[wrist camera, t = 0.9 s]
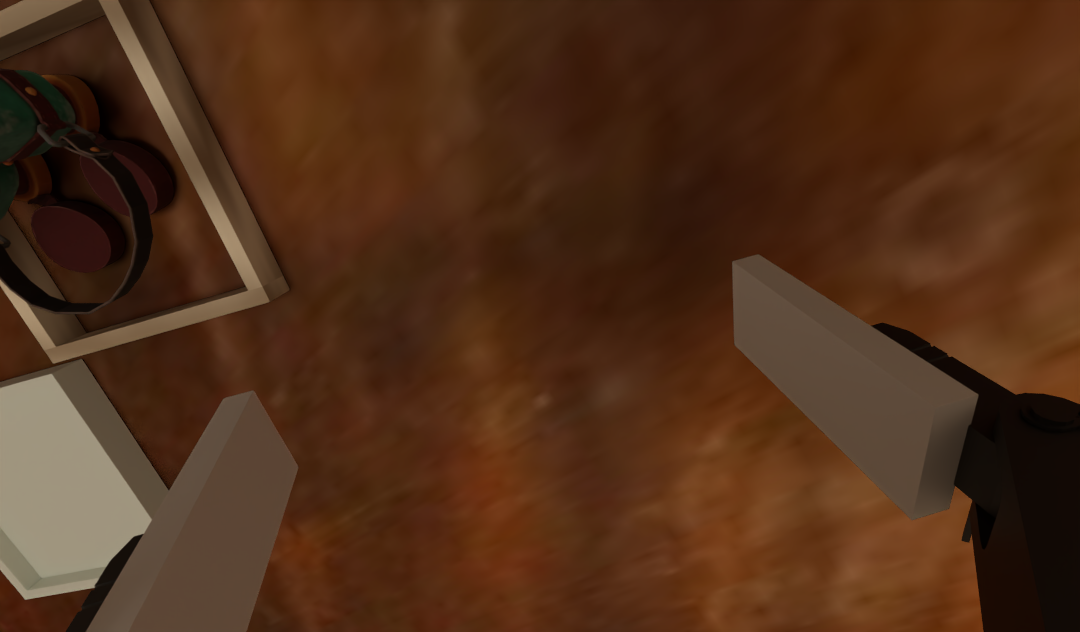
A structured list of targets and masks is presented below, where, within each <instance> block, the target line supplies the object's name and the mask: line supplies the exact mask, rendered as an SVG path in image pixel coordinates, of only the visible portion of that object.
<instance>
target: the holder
mask: <svg viewBox="0 0 1080 632" xmlns="http://www.w3.org/2000/svg"><path fill="white" fill-rule="evenodd" d="M103 15H107V17H108V19H109V21H110V23H111V25H112V27H113V29H114V31H115V33H116V35H117V37H118V39H119V41H120V43H121V45H122V47H123V48H124V50H125V52H126V54H127V56H128V58H129V60H130V62H131V64H132V66H133V68H134V70H135V72H136V74H137V76H138V78H139V80H140V81H141V83H142V85H143V87H144V89H145V91H146V93H147V95H148V97H149V99H150V101H151V103H152V105H153V107H154V109H155V111H156V113H157V115H158V116H159V118H160V120H161V122H162V124H163V126H164V128H165V130H166V132H167V134H168V136H169V138H170V140H171V142H172V144H173V146H174V148H175V149H176V151H177V153H178V155H179V157H180V159H181V161H182V163H183V165H184V167H185V169H186V171H187V173H188V175H189V177H190V179H191V181H192V182H193V184H194V186H195V188H196V190H197V192H198V194H199V196H200V198H201V200H202V202H203V204H204V206H205V208H206V210H207V212H208V214H209V215H210V217H211V219H212V221H213V223H214V225H215V227H216V229H217V231H218V233H219V235H220V237H221V239H222V241H223V243H224V245H225V247H226V248H227V250H228V252H229V254H230V256H231V258H232V260H233V262H234V264H235V266H236V268H237V270H238V272H239V274H240V276H241V278H242V280H243V282H244V283H245V285H246V287H243V288H239V289H236V290H232V291H229V292H226V293H222V294H219V295H215V296H212V297H209V298H205V299H202V300H198V301H195V302H192V303H188V304H185V305H181V306H178V307H175V308H171V309H168V310H164V311H161V312H158V313H154V314H151V315H147V316H144V317H141V318H137V319H134V320H130V321H127V322H124V323H120V324H117V325H113V326H110V327H107V328H103V329H100V330H96V331H93V332H90V333H86V331H85V330H84V328H83V327H82V325H81V324H80V322H79V321H78V319H77V317H76V316H75V314H54V313H51V312H48V311H45V310H42V309H39V308H36V307H32V306H31V305H29V304H28V303H27V302H25V301H24V300H23V299H21V298H20V297H19V296H17V295H16V294H15V293H13V292H12V291H11V290H9V288H8V287H7V286H6V285H5V284H4V283H3V282H2V281H1V280H0V286H1V287H2V289H3V290H4V292H5V293H6V295H7V296H8V298H9V299H10V301H11V302H12V304H13V305H14V306H15V308H16V309H17V311H18V312H19V314H20V315H21V317H22V318H23V320H24V321H25V323H26V324H27V326H28V327H29V329H30V330H31V331H32V333H33V334H34V336H35V337H36V339H37V340H38V342H39V343H40V345H41V346H42V348H43V349H44V351H45V352H46V353H47V355H48V356H49V358H50V359H51V361H52V362H53V363H57V362H60V361H64V360H67V359H71V358H74V357H78V356H81V355H85V354H88V353H92V352H95V351H99V350H102V349H106V348H109V347H113V346H117V345H120V344H124V343H127V342H131V341H134V340H138V339H141V338H145V337H148V336H152V335H155V334H159V333H162V332H166V331H169V330H173V329H176V328H180V327H183V326H187V325H190V324H194V323H197V322H201V321H204V320H208V319H211V318H215V317H218V316H222V315H226V314H229V313H233V312H236V311H240V310H243V309H247V308H250V307H254V306H257V305H261V304H264V303H268V302H271V301H272V300H274V299H276V298H277V297H279V296H281V295H282V294H284V293H286V292H287V291H289V290H290V289H289V287H288V285H287V283H286V281H285V279H284V276H283V274H282V272H281V270H280V268H279V266H278V264H277V262H276V260H275V258H274V256H273V254H272V252H271V250H270V248H269V246H268V244H267V242H266V239H265V237H264V235H263V233H262V231H261V229H260V227H259V225H258V223H257V221H256V219H255V217H254V215H253V213H252V211H251V209H250V207H249V205H248V202H247V200H246V198H245V196H244V194H243V192H242V190H241V188H240V186H239V184H238V182H237V180H236V178H235V176H234V174H233V172H232V170H231V168H230V165H229V163H228V161H227V159H226V157H225V155H224V153H223V151H222V149H221V147H220V145H219V143H218V141H217V139H216V137H215V135H214V133H213V130H212V128H211V126H210V124H209V122H208V120H207V118H206V116H205V114H204V112H203V110H202V108H201V106H200V104H199V102H198V100H197V98H196V96H195V93H194V91H193V89H192V87H191V85H190V83H189V81H188V79H187V77H186V75H185V73H184V71H183V69H182V67H181V65H180V63H179V61H178V59H177V56H176V54H175V52H174V50H173V48H172V46H171V44H170V42H169V40H168V38H167V36H166V34H165V32H164V30H163V28H162V26H161V24H160V22H159V19H158V17H157V15H156V13H155V11H154V9H153V7H152V5H151V3H150V1H149V0H23V1H21V2H19V3H17V4H15V5H13V6H10V7H8V8H6V9H4V10H2V11H0V61H1V60H4V59H6V58H8V57H10V56H13V55H15V54H17V53H19V52H22V51H24V50H26V49H28V48H31V47H33V46H35V45H38V44H40V43H42V42H44V41H47V40H49V39H51V38H53V37H56V36H58V35H60V34H62V33H65V32H67V31H69V30H72V29H74V28H76V27H78V26H81V25H83V24H85V23H87V22H90V21H92V20H94V19H96V18H99V17H101V16H103ZM0 234H1V235H2V236H4V237H5V238H7V239H8V240H10V242H11V244H10V246H9V247H8V248H5V249H6V251H7V253H8V254H9V256H10V258H11V259H12V261H13V262H14V263H15V264H16V265H17V266H18V268H19V269H20V270H21V271H22V272H23V273H24V274H25V275H26V276H27V277H28V279H29V280H30V281H32V282H33V283H34V284H35V285H37V286H38V287H39V288H41V289H42V290H43V291H44V292H46V293H47V294H48V295H50V296H52V297H55V298H58V299H61V300H64V301H66V300H65V299H64V297H63V296H62V294H61V293H60V291H59V289H58V288H57V286H56V285H55V283H54V282H53V280H52V279H51V277H50V275H49V274H48V272H47V271H46V269H45V268H44V266H43V265H42V263H41V261H40V260H39V258H38V257H37V255H36V254H35V252H34V251H33V249H32V247H31V246H30V244H29V243H28V241H27V240H26V238H25V237H24V235H23V233H22V232H21V230H20V229H19V227H18V226H17V224H16V223H15V221H14V219H13V218H12V216H11V215H10V213H9V212H8V211H7V213H6V215H5V216H4V217H3V218H2V219H1V220H0ZM0 244H3V242H2V241H0Z"/></svg>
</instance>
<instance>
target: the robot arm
mask: <svg viewBox="0 0 1080 632" xmlns="http://www.w3.org/2000/svg"><path fill="white" fill-rule="evenodd" d="M732 273H733V313H734V345H735V346H736V347H737V348H738V349H739V350H740V351H741V352H742V353H743V354H744V355H745V356H746V357H747V358H748V359H749V360H750V361H751V362H752V363H753V364H754V365H755V366H756V367H757V368H758V369H759V370H760V371H761V372H762V373H763V374H764V375H766V376H767V377H768V378H769V379H770V380H771V381H772V382H773V383H774V384H775V385H776V386H777V387H778V388H779V389H780V390H781V391H782V392H783V393H784V394H785V395H786V396H787V397H788V398H789V399H790V400H791V401H792V402H793V403H794V404H795V405H796V406H797V407H798V408H799V409H800V410H801V411H802V412H803V413H804V414H805V415H806V416H807V417H808V418H809V419H810V420H811V421H812V422H813V423H814V424H815V425H816V426H817V427H818V428H819V429H820V430H821V431H822V432H823V433H824V434H825V435H826V436H827V437H828V438H829V439H830V440H831V441H832V442H833V443H834V444H835V445H836V446H837V447H838V448H839V449H840V450H841V451H842V452H843V453H844V454H845V455H846V456H847V457H848V458H849V459H850V460H851V461H852V462H853V463H854V464H856V465H857V466H858V467H859V468H860V469H861V470H862V471H863V472H864V473H865V474H866V475H867V476H868V477H869V478H870V479H871V480H872V481H873V482H874V483H875V484H876V485H877V486H878V487H879V488H880V489H881V490H882V491H883V492H884V493H885V494H886V495H887V496H888V497H889V498H890V499H891V500H892V501H893V502H894V503H895V504H896V505H897V506H898V507H899V508H900V509H901V510H902V511H903V512H904V513H905V514H906V515H907V516H908V517H909V518H910V519H911V520H914V519H917V518H921V517H924V516H927V515H930V514H934V513H937V512H940V511H943V510H946V509H949V507H950V503H951V499H952V495H953V491H954V488H955V486H956V487H958V488H959V489H960V490H961V491H962V492H963V493H965V494H966V495H967V496H968V497H969V498H971V499H972V504H971V507H970V511H969V514H968V518H967V521H966V525H965V528H964V532H963V536H962V541H965V542H969V541H970V538H971V534H972V540H973V548H974V556H975V564H976V572H977V581H978V589H979V597H980V605H981V614H982V622H983V630H984V632H1080V404H1077V403H1075V402H1072V401H1070V400H1067V399H1064V398H1061V397H1056V396H1051V395H1046V394H1034V393H1023V394H1018V395H1015V394H1014V393H1012V392H1010V391H1009V390H1007V389H1005V388H1004V387H1002V386H1000V385H999V384H997V383H995V382H994V381H992V380H990V379H988V378H987V377H985V376H983V375H982V374H980V373H978V372H977V371H975V370H973V369H972V368H970V367H968V366H967V365H965V364H963V363H962V362H960V361H958V360H957V359H955V358H953V357H948V355H947V353H945V352H943V351H942V350H940V349H938V348H937V347H935V346H933V347H931V345H930V343H928V342H927V341H925V340H923V339H922V338H920V337H918V336H917V335H915V334H913V333H912V332H910V331H907V330H904V329H901V328H898V327H895V326H892V325H889V324H885V323H880V324H876V325H873V326H870V325H869V324H867V323H865V322H864V321H862V320H861V319H859V318H858V317H856V316H854V315H853V314H851V313H850V312H848V311H847V310H845V309H843V308H842V307H840V306H839V305H837V304H836V303H834V302H833V301H831V300H829V299H828V298H826V297H825V296H823V295H822V294H820V293H818V292H817V291H815V290H814V289H812V288H811V287H809V286H807V285H806V284H804V283H803V282H801V281H800V280H798V279H796V278H795V277H793V276H792V275H790V274H789V273H787V272H786V271H784V270H782V269H781V268H779V267H778V266H776V265H775V264H773V263H771V262H770V261H768V260H767V259H765V258H764V257H762V256H760V255H759V254H757V255H754V256H750V257H746V258H742V259H739V260H735V261H732ZM297 470H298V465H297V464H296V462H295V460H294V459H293V457H292V455H291V453H290V452H289V450H288V448H287V447H286V445H285V443H284V442H283V440H282V438H281V436H280V435H279V433H278V431H277V430H276V428H275V426H274V424H273V423H272V421H271V419H270V418H269V416H268V414H267V413H266V411H265V409H264V407H263V406H262V404H261V402H260V401H259V399H258V397H257V396H256V394H255V392H254V390H253V391H249V392H246V393H242V394H238V395H235V396H231V397H227V398H224V399H223V400H222V402H221V404H220V406H219V407H218V409H217V411H216V412H215V414H214V416H213V417H212V419H211V421H210V422H209V424H208V426H207V428H206V429H205V431H204V433H203V434H202V436H201V438H200V439H199V441H198V443H197V444H196V446H195V448H194V450H193V451H192V453H191V455H190V456H189V458H188V460H187V461H186V463H185V465H184V466H183V468H182V470H181V472H180V473H179V475H178V477H177V478H176V480H175V482H174V483H173V485H172V487H171V488H170V490H169V492H168V494H167V495H166V497H165V499H164V500H163V502H162V504H161V505H160V507H159V509H158V510H157V512H156V514H155V516H154V517H153V519H152V521H151V522H150V524H149V526H148V527H147V529H146V531H145V532H144V534H141V535H137V536H134V537H133V538H132V539H131V540H130V541H129V542H128V543H127V544H126V545H125V546H124V547H123V548H122V549H121V550H120V551H119V552H118V553H117V554H116V555H115V556H114V557H113V558H112V559H111V560H110V562H109V563H108V565H107V566H106V568H105V570H104V571H103V573H102V574H101V576H100V578H99V579H98V581H97V582H96V584H95V590H93V591H91V592H90V594H89V595H88V597H87V598H86V600H85V602H84V603H83V605H82V606H81V607H82V611H80V612H78V613H77V614H76V616H75V618H74V619H73V621H72V622H71V624H70V626H69V627H68V629H67V630H66V632H246V631H247V627H248V624H249V621H250V618H251V615H252V612H253V609H254V605H255V602H256V599H257V596H258V593H259V590H260V587H261V583H262V580H263V577H264V574H265V571H266V568H267V564H268V561H269V558H270V555H271V552H272V549H273V546H274V542H275V539H276V536H277V533H278V530H279V527H280V524H281V520H282V517H283V514H284V511H285V508H286V505H287V501H288V498H289V495H290V492H291V489H292V486H293V483H294V479H295V476H296V473H297Z"/></svg>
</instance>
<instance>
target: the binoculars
mask: <svg viewBox="0 0 1080 632" xmlns="http://www.w3.org/2000/svg"><path fill="white" fill-rule="evenodd" d="M99 127H100V117H99V110H98V105H97V103H96V100H95V98H94V95H93V94H92V92H91V90H90V89H89V87H88V86H87V85H86V84H85V83H84V82H83V81H81V80H80V79H78V78H77V77H75V76H71V75H41V76H40V75H38V74H37V73H34V72H31V71H26V70H15V71H14V70H9V69H0V220H1V219H2V218H3V217H4V216H5V215H6V213H7V211H8V209H9V207H10V205H11V203H12V201H13V200H18V201H23V202H27V201H28V204H32V203H35V204H40V205H42V206H44V207H41V208H39V209H37V210H36V211H34V213H33V215H32V217H31V226H32V231H33V234H34V236H35V238H36V241H37V242H38V244H39V246H40V247H41V249H42V250H43V251H44V252H45V253H46V255H47V256H48V257H49V258H51V259H52V260H53V261H54V262H56V263H57V264H59V265H60V266H62V267H64V268H67V269H69V270H72V271H76V272H85V273H87V272H94V271H97V270H99V269H101V268H103V267H105V266H107V265H109V264H111V263H113V262H114V261H116V260H117V259H119V258H120V256H121V255H122V254H123V251H124V248H125V239H124V234H123V232H122V230H121V228H120V227H119V225H118V224H117V222H116V221H115V220H114V219H113V218H112V217H111V216H110V215H108V214H107V213H105V212H104V211H102V210H101V209H99V208H97V207H95V206H92V205H89V204H86V203H82V202H77V201H61V202H60V201H59V200H57V199H56V198H55V197H54V196H52V195H50V193H51V190H52V180H51V175H50V172H49V169H48V167H47V164H46V162H45V161H44V159H43V157H42V156H41V154H43V153H45V152H46V151H48V150H49V149H50V148H51V147H53V146H54V147H64V148H66V149H68V150H69V151H71V152H74V153H76V154H79V155H80V166H81V169H82V172H83V174H84V176H85V178H86V180H87V182H88V183H89V185H90V186H91V188H92V189H93V191H94V192H95V193H96V194H97V195H98V197H99V198H100V199H101V200H102V201H103V202H105V203H106V204H107V205H108V206H109V207H111V208H112V209H114V210H115V211H117V212H119V213H121V214H123V215H126V216H129V217H130V218H131V224H132V229H133V235H134V240H135V244H134V249H133V255H132V260H131V265H130V268H129V270H128V272H127V274H126V277H125V279H124V281H123V283H122V285H121V286H120V287H119V289H118V290H117V291H116V293H115V294H114V295H113V297H112V298H111V299H110V300H109V301H107V302H105V303H70V302H67V301H64V300H61V299H58V298H55V297H52V296H50V295H48V294H47V293H46V292H44V291H43V290H42V289H41V288H39V287H38V286H37V285H35V284H34V283H33V282H32V281H30V280H29V279H28V277H27V276H26V275H25V274H24V273H23V272H22V271H21V270H20V269H19V268H18V266H17V265H16V264H15V263H14V262H13V261H12V259H11V258H10V256H9V254H8V253H7V251H6V249H5V248H8V247H9V246H10V244H11V242H10V240H8V239H7V238H5V237H4V236H2V235H1V234H0V241H2V242H3V244H0V280H1V281H2V282H3V283H4V284H5V285H6V286H7V287H8V288H9V290H11V291H12V292H13V293H15V294H16V295H17V296H19V297H20V298H21V299H23V300H24V301H25V302H27V303H28V304H29V305H31V306H32V307H36V308H39V309H42V310H45V311H48V312H51V313H54V314H91V313H93V312H95V311H96V310H98V309H100V308H102V307H104V306H106V305H107V304H109V303H111V302H113V301H115V300H116V299H118V298H120V297H122V296H124V295H125V294H127V293H128V292H129V291H130V289H131V288H132V287H133V286H134V284H135V283H136V282H137V280H138V279H139V278H140V276H141V274H142V272H143V270H144V268H145V266H146V264H147V262H148V259H149V254H150V249H151V244H152V239H153V233H152V226H151V220H150V215H151V214H153V213H155V212H156V211H158V210H160V209H162V208H163V207H165V206H166V205H168V204H169V203H170V202H171V200H172V198H173V194H174V188H173V183H172V180H171V177H170V175H169V174H168V172H167V170H166V169H165V167H164V166H163V165H162V164H161V163H160V162H159V161H158V160H157V159H156V158H155V157H154V156H153V155H152V154H150V153H149V152H147V151H146V150H144V149H142V148H140V147H138V146H136V145H134V144H131V143H128V142H124V141H120V140H109V141H108V140H107V139H106V138H105V137H103V136H102V135H101V134H99V133H98V131H99Z"/></svg>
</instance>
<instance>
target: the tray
mask: <svg viewBox="0 0 1080 632" xmlns="http://www.w3.org/2000/svg"><path fill="white" fill-rule="evenodd" d="M168 492H169V490H168V489H167V487H166V486H165V484H164V483H163V481H162V480H161V478H160V477H159V475H158V474H157V472H156V471H155V469H154V468H153V466H152V465H151V463H150V462H149V460H148V459H147V457H146V456H145V454H144V452H143V451H142V449H141V448H140V446H139V445H138V443H137V442H136V440H135V439H134V437H133V436H132V434H131V433H130V431H129V430H128V428H127V427H126V425H125V424H124V422H123V421H122V419H121V418H120V416H119V414H118V413H117V411H116V410H115V408H114V407H113V405H112V404H111V402H110V401H109V399H108V398H107V396H106V395H105V393H104V392H103V390H102V389H101V387H100V386H99V384H98V383H97V381H96V380H95V378H94V376H93V375H92V373H91V372H90V370H89V369H88V367H87V366H86V364H85V363H84V361H83V360H82V359H80V360H76V361H72V362H69V363H65V364H62V365H58V366H55V367H51V368H48V369H44V370H41V371H37V372H34V373H30V374H27V375H23V376H19V377H16V378H12V379H9V380H5V381H2V382H0V570H1V571H2V572H3V574H4V575H5V576H6V577H7V578H8V580H9V581H10V582H11V583H12V584H13V585H14V587H15V588H16V589H17V590H18V591H19V593H20V594H21V595H22V596H23V597H24V599H25V600H26V599H32V598H37V597H43V596H49V595H55V594H60V593H66V592H72V591H78V590H84V589H89V588H95V584H96V582H97V581H98V579H99V578H100V576H101V574H102V573H103V571H104V570H105V568H106V566H107V565H108V563H109V562H110V560H111V559H112V558H113V557H114V556H115V555H116V554H117V553H118V552H119V551H120V550H121V549H122V548H123V547H124V546H125V545H126V544H127V543H128V542H129V541H130V540H131V539H132V538H133V537H134V536H137V535H141V534H144V532H145V531H146V529H147V527H148V526H149V524H150V522H151V521H152V519H153V517H154V516H155V514H156V512H157V510H158V509H159V507H160V505H161V504H162V502H163V500H164V499H165V497H166V495H167V494H168Z"/></svg>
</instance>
